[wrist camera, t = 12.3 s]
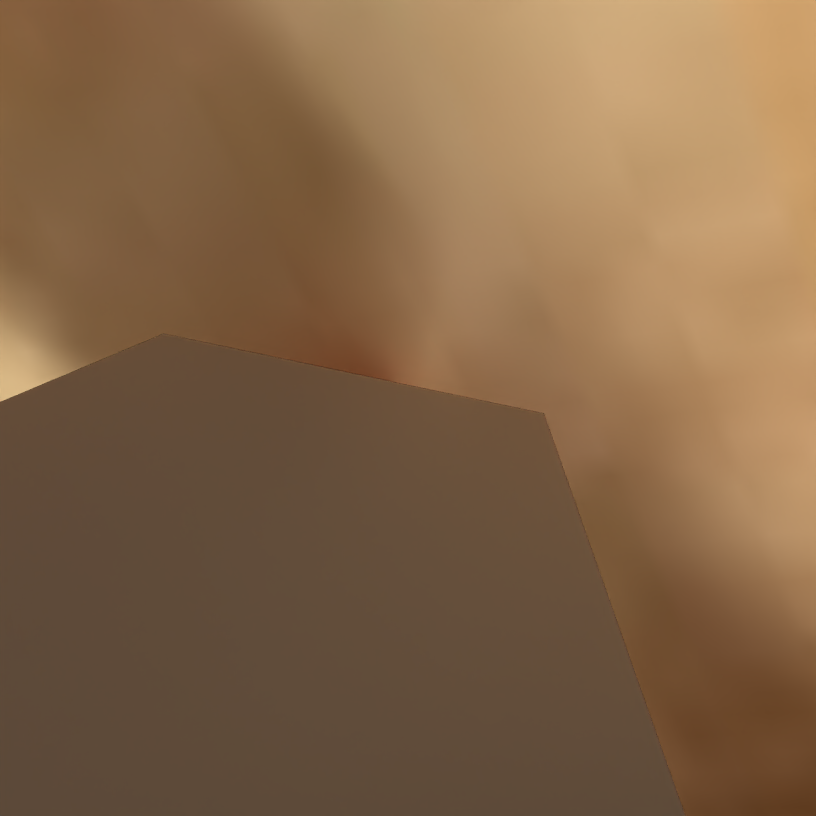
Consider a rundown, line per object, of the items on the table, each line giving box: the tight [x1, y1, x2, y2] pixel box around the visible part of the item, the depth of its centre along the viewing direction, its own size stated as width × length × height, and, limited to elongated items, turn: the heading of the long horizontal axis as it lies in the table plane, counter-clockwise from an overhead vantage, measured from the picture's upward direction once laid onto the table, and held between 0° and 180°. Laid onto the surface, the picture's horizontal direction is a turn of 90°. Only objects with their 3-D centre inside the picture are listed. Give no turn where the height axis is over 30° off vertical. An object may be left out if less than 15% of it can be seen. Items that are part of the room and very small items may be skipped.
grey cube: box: [0, 334, 685, 816], centre depth 8 cm, size 8×8×9 cm
